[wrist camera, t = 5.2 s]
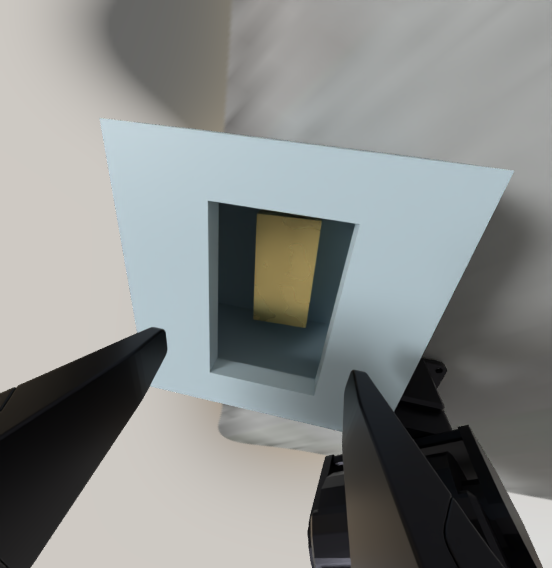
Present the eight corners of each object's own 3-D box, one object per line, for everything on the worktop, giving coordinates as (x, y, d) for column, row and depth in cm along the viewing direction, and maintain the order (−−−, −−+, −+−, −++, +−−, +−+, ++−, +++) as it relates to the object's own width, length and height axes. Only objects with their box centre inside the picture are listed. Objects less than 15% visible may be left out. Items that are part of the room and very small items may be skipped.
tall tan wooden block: (323, 203, 15) (321, 220, 12) (310, 293, 18) (305, 328, 15) (272, 198, 16) (256, 213, 12) (267, 286, 19) (253, 319, 15)
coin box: (362, 335, 20) (379, 440, 13) (207, 305, 21) (146, 385, 14) (422, 157, 14) (514, 170, 7) (204, 130, 15) (99, 117, 8)
